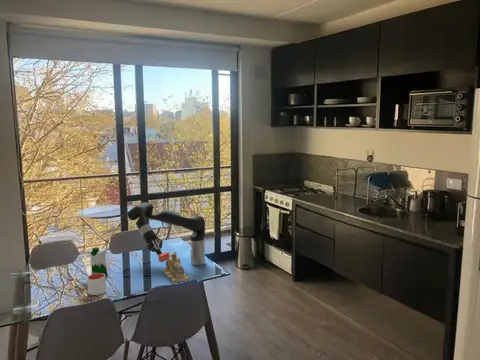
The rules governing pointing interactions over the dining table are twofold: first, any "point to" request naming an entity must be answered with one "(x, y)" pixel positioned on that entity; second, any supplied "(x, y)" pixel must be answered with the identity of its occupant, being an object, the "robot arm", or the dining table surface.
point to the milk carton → (98, 261)
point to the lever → (166, 256)
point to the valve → (174, 270)
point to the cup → (96, 284)
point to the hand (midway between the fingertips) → (160, 255)
